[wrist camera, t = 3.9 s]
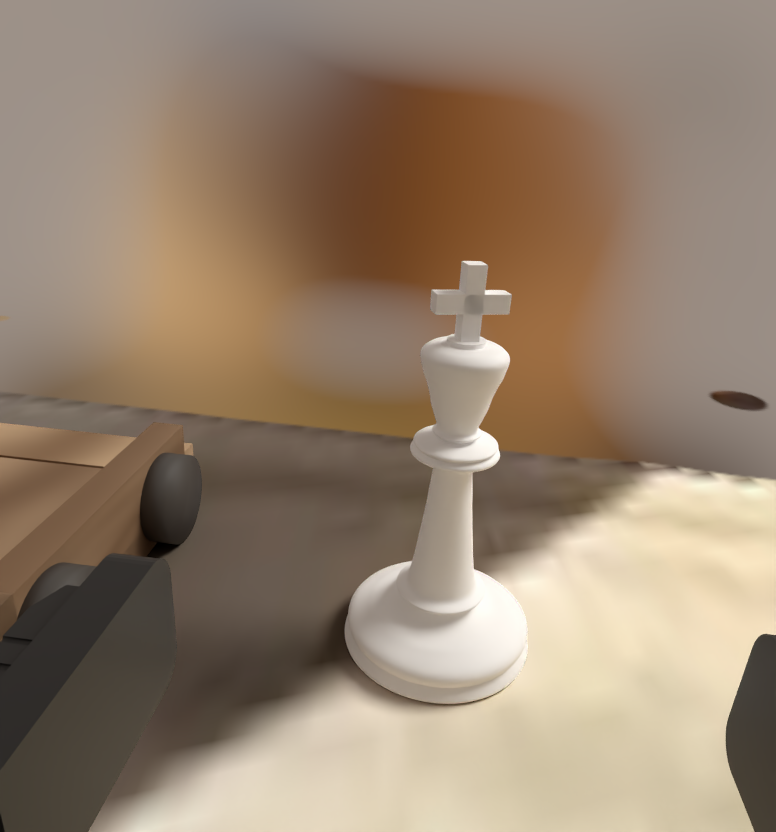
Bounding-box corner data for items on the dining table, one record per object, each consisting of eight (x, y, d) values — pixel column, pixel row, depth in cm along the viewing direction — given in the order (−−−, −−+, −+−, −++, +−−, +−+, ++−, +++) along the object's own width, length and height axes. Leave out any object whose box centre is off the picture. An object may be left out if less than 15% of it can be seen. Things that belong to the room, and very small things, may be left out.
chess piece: (331, 586, 20) (341, 241, 16) (488, 571, 21) (533, 245, 17) (363, 718, 16) (388, 289, 12) (559, 691, 17) (641, 290, 13)
